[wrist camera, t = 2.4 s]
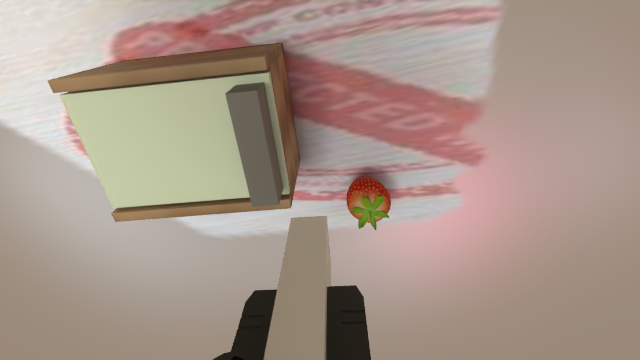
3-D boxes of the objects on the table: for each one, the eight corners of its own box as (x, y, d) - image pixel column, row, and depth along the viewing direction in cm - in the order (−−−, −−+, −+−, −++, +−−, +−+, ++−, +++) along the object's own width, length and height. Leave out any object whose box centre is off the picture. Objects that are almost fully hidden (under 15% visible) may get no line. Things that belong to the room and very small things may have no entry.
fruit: (393, 180, 43) (405, 215, 36) (366, 207, 45) (373, 245, 38) (361, 157, 41) (368, 188, 34) (335, 185, 43) (337, 220, 36)
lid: (66, 92, 28) (31, 104, 25) (269, 71, 27) (261, 80, 24) (117, 203, 34) (94, 225, 30) (290, 189, 32) (285, 211, 29)
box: (122, 60, 36) (47, 80, 27) (282, 42, 35) (264, 56, 25) (163, 172, 43) (115, 221, 33) (299, 161, 42) (290, 208, 32)
